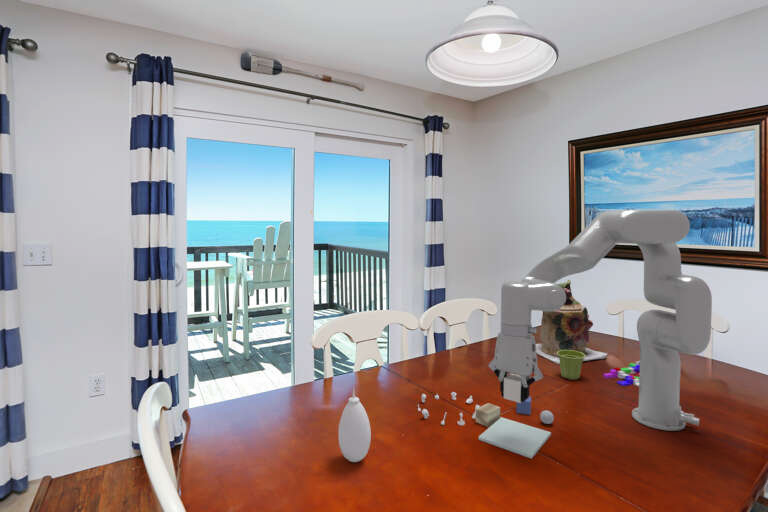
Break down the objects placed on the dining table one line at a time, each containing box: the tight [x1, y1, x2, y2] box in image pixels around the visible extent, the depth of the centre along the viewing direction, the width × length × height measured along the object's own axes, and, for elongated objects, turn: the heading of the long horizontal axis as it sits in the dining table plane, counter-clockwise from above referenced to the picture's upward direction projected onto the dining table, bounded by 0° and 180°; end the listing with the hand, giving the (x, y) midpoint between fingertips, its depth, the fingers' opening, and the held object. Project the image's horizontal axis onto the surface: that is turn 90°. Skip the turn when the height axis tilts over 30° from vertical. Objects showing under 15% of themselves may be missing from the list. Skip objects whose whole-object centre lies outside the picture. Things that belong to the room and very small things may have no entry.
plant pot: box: [557, 350, 585, 380], centre depth 149 cm, size 9×9×9 cm
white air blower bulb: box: [337, 387, 372, 463], centre depth 98 cm, size 8×8×18 cm
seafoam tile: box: [478, 416, 552, 459], centre depth 108 cm, size 14×14×1 cm
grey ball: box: [539, 409, 555, 425], centre depth 115 cm, size 4×4×4 cm
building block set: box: [602, 360, 640, 387], centre depth 147 cm, size 25×20×4 cm
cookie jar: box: [536, 279, 608, 365], centre depth 175 cm, size 25×25×32 cm
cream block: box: [503, 373, 522, 403], centre depth 107 cm, size 4×4×6 cm
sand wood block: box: [475, 402, 501, 428], centre depth 117 cm, size 4×6×4 cm, turn 130°
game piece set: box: [417, 391, 481, 426], centre depth 124 cm, size 19×20×4 cm
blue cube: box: [515, 396, 532, 416], centre depth 123 cm, size 4×4×4 cm
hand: (514, 397), depth 107 cm, fingers closed on cream block, 4 cm apart
